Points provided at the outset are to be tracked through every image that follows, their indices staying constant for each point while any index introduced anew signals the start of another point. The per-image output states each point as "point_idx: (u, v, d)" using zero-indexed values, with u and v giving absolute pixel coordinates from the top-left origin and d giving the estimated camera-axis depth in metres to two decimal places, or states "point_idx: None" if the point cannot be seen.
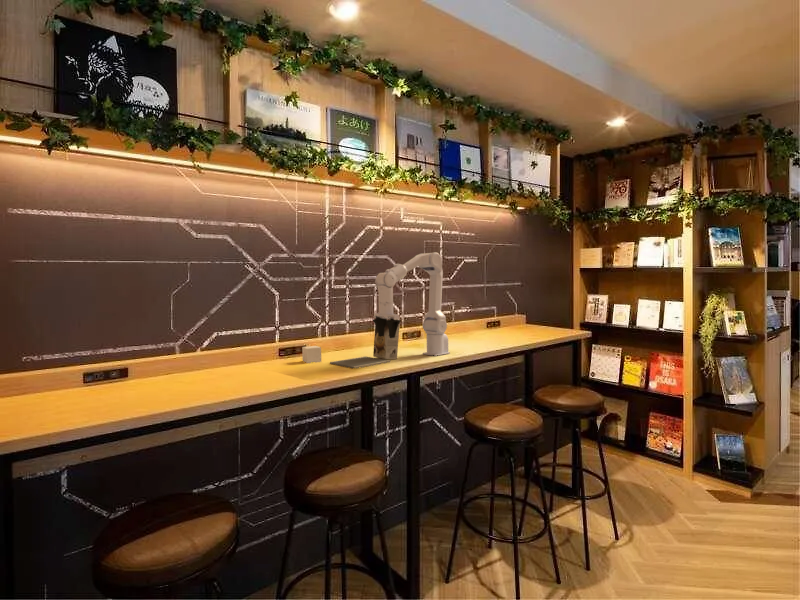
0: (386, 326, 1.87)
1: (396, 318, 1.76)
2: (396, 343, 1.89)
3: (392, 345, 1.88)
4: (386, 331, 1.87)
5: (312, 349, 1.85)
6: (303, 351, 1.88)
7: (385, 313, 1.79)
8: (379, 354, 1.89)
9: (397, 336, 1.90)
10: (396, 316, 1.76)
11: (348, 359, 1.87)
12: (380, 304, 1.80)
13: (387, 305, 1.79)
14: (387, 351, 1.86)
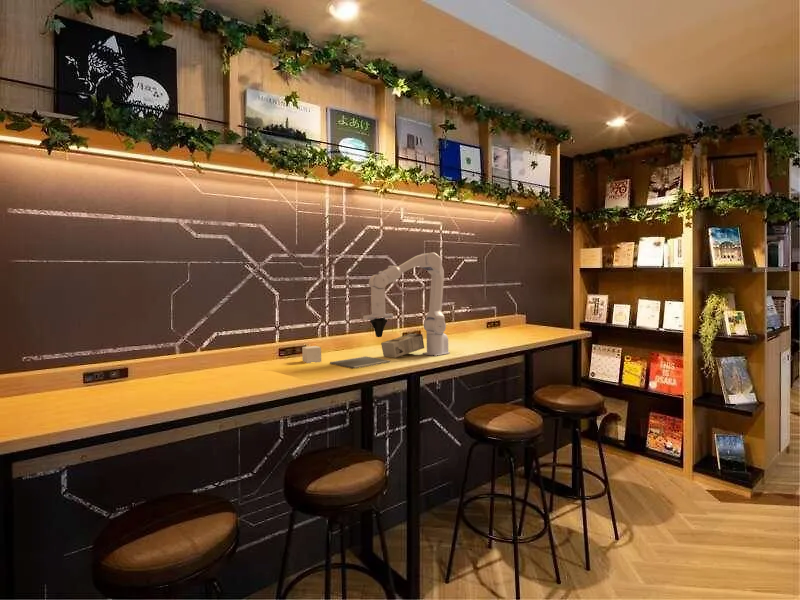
0: (416, 335, 1.98)
1: (364, 319, 1.84)
2: (407, 351, 1.93)
3: (405, 346, 1.93)
4: (412, 336, 1.96)
5: (312, 349, 1.85)
6: (303, 351, 1.88)
7: None
8: (389, 341, 1.93)
9: (412, 350, 1.95)
10: (364, 317, 1.84)
11: (348, 359, 1.87)
12: None
13: (371, 306, 1.87)
14: (399, 342, 1.91)
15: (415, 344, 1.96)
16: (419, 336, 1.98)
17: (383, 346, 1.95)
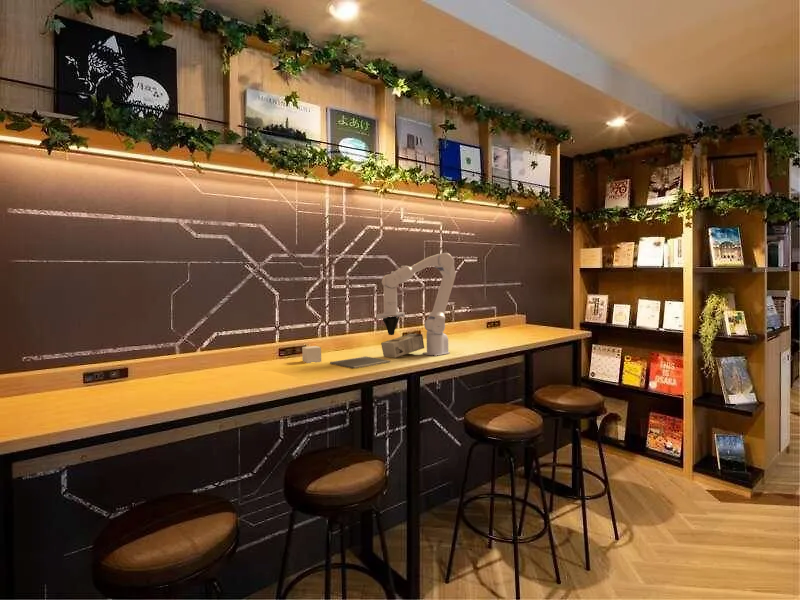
0: (416, 335, 1.98)
1: (377, 317, 1.89)
2: (407, 351, 1.93)
3: (405, 346, 1.93)
4: (412, 336, 1.96)
5: (312, 349, 1.85)
6: (303, 351, 1.88)
7: None
8: (389, 341, 1.93)
9: (412, 350, 1.95)
10: (377, 315, 1.89)
11: (348, 359, 1.87)
12: None
13: (384, 305, 1.93)
14: (399, 342, 1.91)
15: (415, 344, 1.96)
16: (419, 336, 1.98)
17: (383, 346, 1.95)
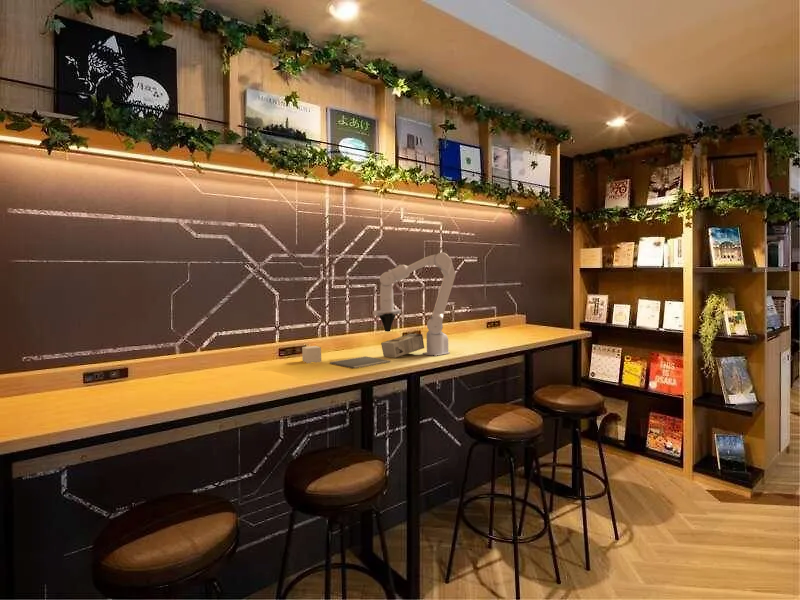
0: (416, 335, 1.98)
1: (373, 314, 1.95)
2: (407, 351, 1.93)
3: (405, 346, 1.93)
4: (412, 336, 1.96)
5: (312, 349, 1.85)
6: (303, 351, 1.88)
7: None
8: (389, 341, 1.93)
9: (412, 350, 1.95)
10: (373, 312, 1.95)
11: (348, 359, 1.87)
12: None
13: (380, 302, 1.99)
14: (399, 342, 1.91)
15: (415, 344, 1.96)
16: (419, 336, 1.98)
17: (383, 346, 1.95)
